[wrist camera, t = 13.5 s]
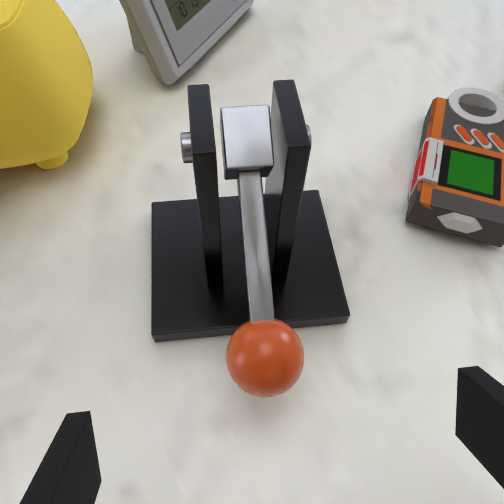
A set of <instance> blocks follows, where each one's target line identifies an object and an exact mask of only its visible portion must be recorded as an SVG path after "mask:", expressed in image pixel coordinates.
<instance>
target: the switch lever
mask: <svg viewBox="0 0 504 504" xmlns="http://www.w3.org/2000/svg"><path fill="white" fill-rule="evenodd" d="M220 131H221V143H222V154H223V165H224V177H225V179H226V180H229V179H237V187H238V198H239V209H240V221H241V232H242V243H243V254H244V266H245V277H246V288H247V299H248V311H249V321H248V322H246V323H244V324H243V325H241V326H240V327H239V328H238V329H237V330H236V331H235V332H234V334H233V335H232V337H231V339H230V341H229V344H228V347H227V353H226V362H227V367H228V371H229V373H230V375H231V377H232V379H233V380H234V382H235V383H236V384H237V385H238V386H239V387H240V388H241V389H242V390H244V391H245V392H247V393H249V394H251V395H254V396H258V397H273V396H277V395H280V394H282V393H284V392H285V391H287V390H288V389H290V388H291V387H292V386H293V385H294V384H295V383H296V381H297V380H298V378H299V376H300V374H301V372H302V369H303V364H304V351H303V346H302V343H301V341H300V339H299V337H298V335H297V334H296V333H295V331H294V330H293V329H292V328H291V327H290V326H288V325H287V324H286V323H284V322H282V321H280V320H277V319H274V308H273V297H272V286H271V275H270V264H269V253H268V242H267V231H266V220H265V209H264V198H263V187H262V177H268V176H269V174H270V172H271V170H272V169H273V167H274V153H273V142H272V131H271V120H270V109H269V105H256V106H239V107H222V108H221V110H220Z"/></svg>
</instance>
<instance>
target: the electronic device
mask: <svg viewBox="0 0 504 504" xmlns="http://www.w3.org/2000/svg"><path fill="white" fill-rule="evenodd" d="M408 201H409V206H408V211H407V216H406V221H408V222H412V223H415V224H419V225H423V226H426V227H430V228H433V229H437V230H441V231H444V232H448V233H451V234H455V235H459V236H462V237H466V238H469V239H473V240H477V241H480V242H484V243H488V244H491V245H495V246H498V247H501V246H502V245H503V244H504V102H503V101H502V100H501V99H500V98H498V97H497V96H496V95H494V94H492V93H490V92H487V91H485V90H481V89H477V88H461V89H458V90H455V91H454V92H452V93H451V95H450V96H449V98H448V99H443V98H439V97H437V98H435V99H433V101H432V103H431V106H430V108H429V110H428V113H427V115H426V117H425V121H424V127H423V132H422V137H421V142H420V148H419V153H418V156H417V159H416V160H415V164H414V169H413V174H412V179H411V185H410V190H409V195H408Z"/></svg>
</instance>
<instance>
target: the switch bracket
mask: <svg viewBox="0 0 504 504" xmlns="http://www.w3.org/2000/svg"><path fill="white" fill-rule="evenodd" d="M187 88H188V104H189V120H190V132H184V133H181V149H182V158H183V162H184V163H193V169H194V177H195V185H196V193H197V199H191V200H178V201H165V202H152V300H151V334H152V337H153V339H154V341H155V342H160V341H170V340H180V339H190V338H199V337H209V336H219V335H229V334H234V332H235V331H236V330H237V329H238V328H239V327H240V326H241V325H243V324H244V323H246V322H248V321H249V311H248V299H247V288H246V277H245V266H244V254H243V243H242V232H241V221H240V209H239V198H238V196H231V197H219V195H218V177H217V160H216V147H215V137H214V128H213V118H212V109H211V99H210V89H209V85H208V84H202V85H188V87H187ZM270 120H271V131H272V142H273V153H274V167H273V169H272V170H271V172H270V174H269V176H268V177H266V184H265V194H263V198H264V209H265V220H266V231H267V242H268V253H269V264H270V275H271V286H272V297H273V308H274V319H277V320H280V321H282V322H284V323H286V324H287V325H288V326H290V327H291V328H298V327H308V326H318V325H328V324H337V323H346V322H347V320H348V318H349V316H350V312H349V308H348V304H347V300H346V296H345V293H344V289H343V285H342V281H341V277H340V273H339V269H338V265H337V261H336V257H335V253H334V250H333V246H332V242H331V238H330V234H329V230H328V226H327V222H326V218H325V214H324V210H323V207H322V203H321V199H320V195H319V191H318V190H310V191H303V187H304V182H305V177H306V171H307V166H308V160H309V155H310V151H311V132H310V128H309V126H308V125H306V124H305V120H304V116H303V113H302V109H301V105H300V101H299V97H298V94H297V90H296V86H295V82H294V80H277V81H274V82H273V93H272V106H271V119H270Z"/></svg>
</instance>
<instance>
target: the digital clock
mask: <svg viewBox="0 0 504 504" xmlns="http://www.w3.org/2000/svg"><path fill="white" fill-rule="evenodd" d="M119 1H120V3H121V5H122V7H123V9H124V11H125V13H126V16H127V20H128V24H129V29H130V34H131V38H132V43H133V47H134V49H135V50H137V51H139V52H141V53H144V54H145V56H146V58H147V60H148V62H149V64H150V67H151V69H152V70H153V72H154V74H155V76H156V77H157V78H158V80H159V81H160V82H162V83H163V84H168V85H170V84H173V83H174V82H175V81H177V80H178V79H179V78H180V77H181V76H182V75H183V74H184V73H185V72H186V71H187V70H190V69H191V68H192V67H193V66H194V65H195V64H196V63H197V62H198V61H199V60H200V59H201V58H202V57H203V56H204V55H205V54H206V53H207V52H208V51H209V50H210V49H211V48H212V47H213V46H214V45H215V44H216V43H217V42H218V41H219V40H220V39H221V38H222V37H223V36H224V35H225V34H226V33H227V32H228V31H229V30H230V29H231V28H232V27H233V26H234V25H235V22H236V21H237V20H238V19H239V18H240V17H241V16H242V15H243V14H244V13H245V12H246V11H247V10H248V9H249V7H250V6H251V5H252V3H253V0H119Z"/></svg>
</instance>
